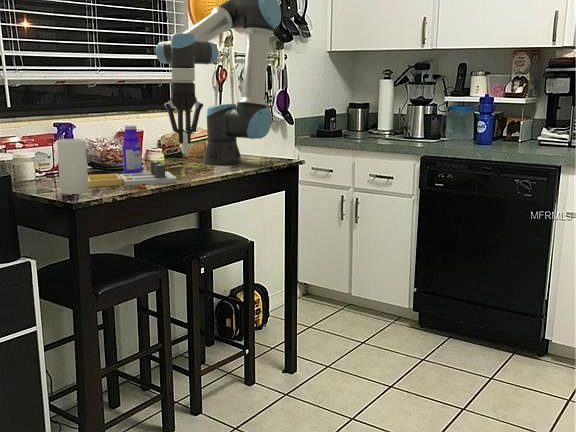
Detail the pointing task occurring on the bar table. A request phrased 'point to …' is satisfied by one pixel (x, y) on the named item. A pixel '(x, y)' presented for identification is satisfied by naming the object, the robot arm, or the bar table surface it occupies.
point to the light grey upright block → (72, 166)
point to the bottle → (131, 150)
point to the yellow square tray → (104, 180)
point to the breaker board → (146, 178)
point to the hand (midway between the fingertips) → (184, 153)
